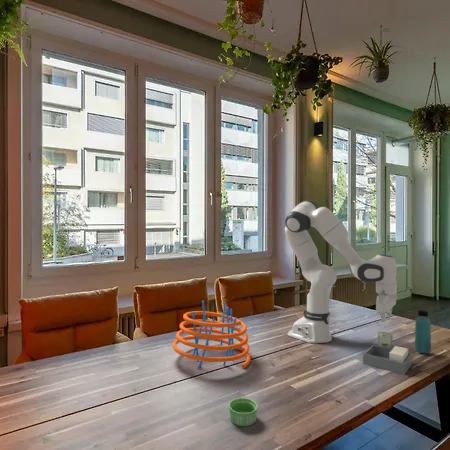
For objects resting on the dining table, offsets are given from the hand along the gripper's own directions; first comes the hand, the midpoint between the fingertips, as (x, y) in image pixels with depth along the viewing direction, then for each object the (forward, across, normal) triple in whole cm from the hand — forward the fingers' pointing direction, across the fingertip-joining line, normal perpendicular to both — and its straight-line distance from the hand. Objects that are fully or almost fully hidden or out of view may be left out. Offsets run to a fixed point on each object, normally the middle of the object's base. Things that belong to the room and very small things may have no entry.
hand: (386, 318), depth 162 cm
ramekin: (+14, -87, +19) cm, 90 cm away
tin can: (+16, 0, +1) cm, 16 cm away
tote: (+15, -16, -4) cm, 22 cm away
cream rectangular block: (+15, -16, -9) cm, 23 cm away
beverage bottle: (+16, +8, -13) cm, 23 cm away
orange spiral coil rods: (+14, -59, +57) cm, 83 cm away
